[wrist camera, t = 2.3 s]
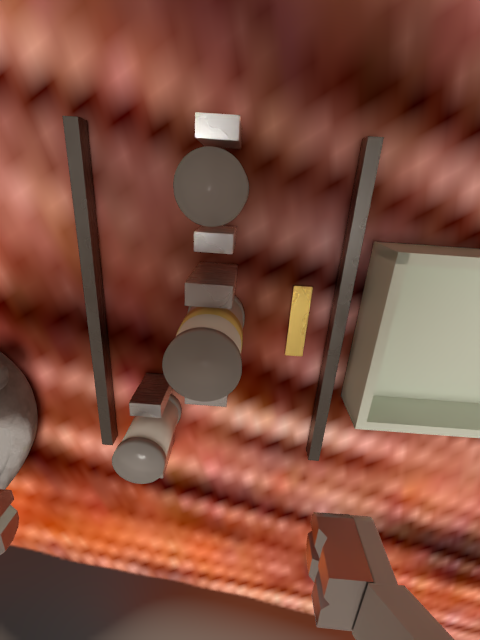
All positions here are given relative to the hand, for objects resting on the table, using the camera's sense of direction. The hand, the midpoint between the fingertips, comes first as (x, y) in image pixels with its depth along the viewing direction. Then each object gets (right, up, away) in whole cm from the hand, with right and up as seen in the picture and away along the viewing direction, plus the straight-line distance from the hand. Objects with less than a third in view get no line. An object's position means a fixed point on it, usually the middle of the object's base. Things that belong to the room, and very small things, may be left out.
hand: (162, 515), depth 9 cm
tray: (+19, +4, +13) cm, 24 cm away
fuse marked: (+1, +6, +13) cm, 14 cm away
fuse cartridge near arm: (+1, +13, +10) cm, 17 cm away
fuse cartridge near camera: (-4, -2, +16) cm, 17 cm away
